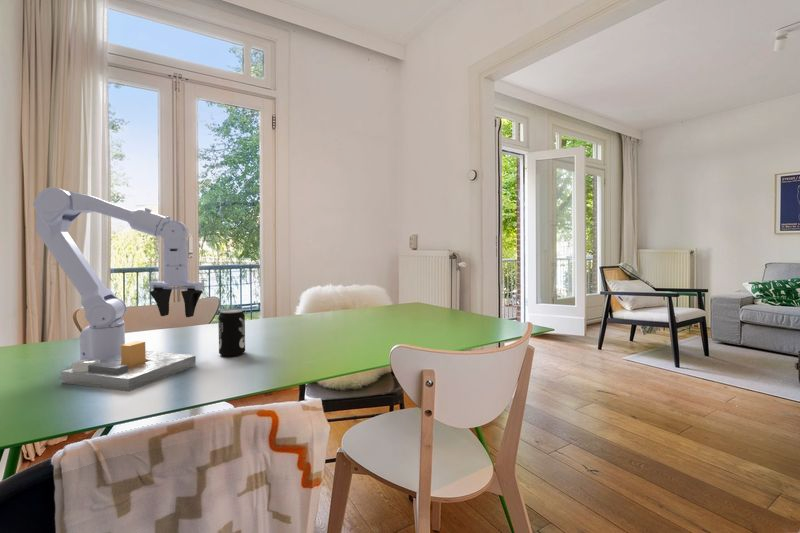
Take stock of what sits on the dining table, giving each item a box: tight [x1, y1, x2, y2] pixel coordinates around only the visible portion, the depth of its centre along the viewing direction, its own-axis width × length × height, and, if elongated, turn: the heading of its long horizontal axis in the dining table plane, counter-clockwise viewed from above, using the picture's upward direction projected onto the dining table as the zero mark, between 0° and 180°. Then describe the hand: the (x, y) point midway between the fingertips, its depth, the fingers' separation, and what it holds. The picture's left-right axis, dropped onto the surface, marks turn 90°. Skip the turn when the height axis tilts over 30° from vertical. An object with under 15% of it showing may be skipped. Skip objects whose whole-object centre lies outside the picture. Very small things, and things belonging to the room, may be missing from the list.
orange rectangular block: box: [121, 340, 147, 367], centre depth 91 cm, size 2×4×7 cm, turn 165°
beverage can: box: [217, 308, 246, 358], centre depth 107 cm, size 7×7×12 cm
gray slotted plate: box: [60, 350, 197, 392], centre depth 91 cm, size 18×18×4 cm
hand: (177, 316), depth 107 cm, fingers open, 7 cm apart
